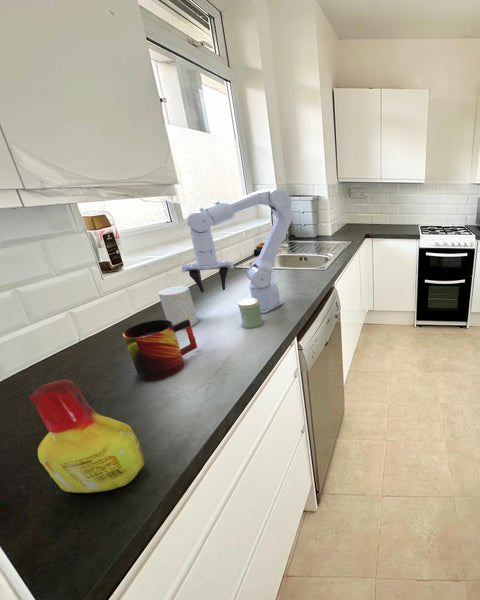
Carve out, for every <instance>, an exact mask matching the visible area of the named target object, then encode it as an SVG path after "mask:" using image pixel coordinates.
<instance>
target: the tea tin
mask: <svg viewBox="0 0 480 600" xmlns="http://www.w3.org/2000/svg"><path fill="white" fill-rule="evenodd" d="M259 304H260V303H259V299H257V298H252V297H249V298H244V299H241V300H239V301H238V302H237V305H238V308H239V312H240V317H241V322H242V325H243V326H242V327H243V328H246V329H252V328H257V327H260V326H261V325H263V322H264V321H263V317H262V313H261V311H260V305H259Z"/></svg>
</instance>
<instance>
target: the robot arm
mask: <svg viewBox="0 0 480 600" xmlns="http://www.w3.org/2000/svg"><path fill="white" fill-rule="evenodd" d="M292 202H293V201H292V199H291V198H290V195H289V194H288V192H287V191H286V190H285V189H283V188H276V187H267V188H266V189H260V190H257V191H254V192H252V193H250V194H247V195H245V196H243V197H240V198H239V199H236V200H234V201H232V202H230V203H229V202H226V201H223V200H222V201H219V200H216V201H214V204H212V205H208V206H207V207H204V208H203V207H199V211H197V210H195V211H192V212H190V213H188V215H187V217H186V224H187V225H188V226H189V228H190V231H189V232H190V235H191V243H192V246H193V251H194V255H195V256H194V257H195V261H196V263H189V264H182V265H181V266H180V268H181V272H182V273H187V272H188V275H189V277H190V278H191V279H192V280H193V281H194V283H195V284H196V285H197V287H198V288H199V290H200V293H204V292H205V288H204V283H203V280H202V275H201V271H211V270H218V273H219V277H220V282H221V288H222V291H226V278H227V275H228V272H229V269H234V268H235V266H234V261H233V260H230V261H228V260H227V261H221V260H219V261H218V257H217V253H216V248H215V243H214V239H213V235H212V231H211V228H212V226H213V227H215V226H218V225H220V224H222V223H223V224H224V223H225V222H227V221H230V220H232V219H234V216H235V214H236V213H238V212H240V211H244V210H246V209H249V208H251V207H255V206H257V205H261V206H262V205H263V206H268V207H269V208H270V209H271V211H272V213H273V215H274V218H275V219H274V221H273V224H272V226H271V228H270V229H269V233H268V235H267V237H266V239H265V241H264V244H263V246H262V248H261V250H260V253H259V255H258V256H257V258H256V259H254V261H253V263H252V265H251V266H249V268H247V270H246V278H247V279H248V280H249V281H250V284H249V290H250V296H251V297H250V298H257V299H259V303H260V304H259V305H260V311H261V314H267V313H268V312H271V311H272V310H274V309H277V308H278V307H279V306H281V305H283V302H281V297H280V292H279V287H278V285H277V284H276V283H275V282H274V281H272V273H273V265H274V262H275V259H276V257H277V255H278V252H279V250H280V248H281V246H282V244H283V241H284V239H285V237H286V235H287V232H288V230H289V228H290V225H291V223H292V221H293V213H292Z"/></svg>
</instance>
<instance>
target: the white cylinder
mask: <svg viewBox="0 0 480 600" xmlns="http://www.w3.org/2000/svg"><path fill="white" fill-rule="evenodd" d="M158 297H159V299H160V303H161V306H162V309H163V312H164V316H165V318H166V319H165V320H168V321H171V322H172V325H176V324H178V323H180V322H182V321H185V320H189V321H190V324H191V327H193V326H195V325H196V324H198V322H199V320H198V316H197V313H196V310H195V306H194V305H195V304H194V302H193V299H192V295H191V291H190V287H189V286H185V285H177V286H170V287H167V288H163V289H161V290H159V291H158Z"/></svg>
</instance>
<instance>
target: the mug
mask: <svg viewBox="0 0 480 600" xmlns="http://www.w3.org/2000/svg"><path fill="white" fill-rule="evenodd" d="M183 329H185V331H186V335H187V337H188V341H189V344H188V345H186V346H184V347H183V348H180V345H179V344H180V343H179V341H178V338H177V335H176V333H177V332H179V331H181V330H183ZM122 336H123V339H124V342H125V344H126V347H127V350H128V352H129V355H130V358H131V361H132V364H133V366H134V369H135V371H136V373H137V376H138V379H139V380H141V381H142V382H156V381H160V380H164V379H167V378H170V377H172V376H174V375H176V374H177V373H179V372H180V371H182V370H183V369H184V367H185V361H184V358H183V356H185V355H186V354H188V353H190V352H192V351H194V350H196V349H198V344H197V342H196V337H195V334H194V332H193V329H192V326H191V324H190V321H189V320H185V321H182V322H180V323H178V324H176V325H172V322H171V321H168V320H167V319H155V320H149V321H144V322H141V323H138V324H135V325H133V326H131V327H129V328H127V329H125V330H124V331H123V332H122Z"/></svg>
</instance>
